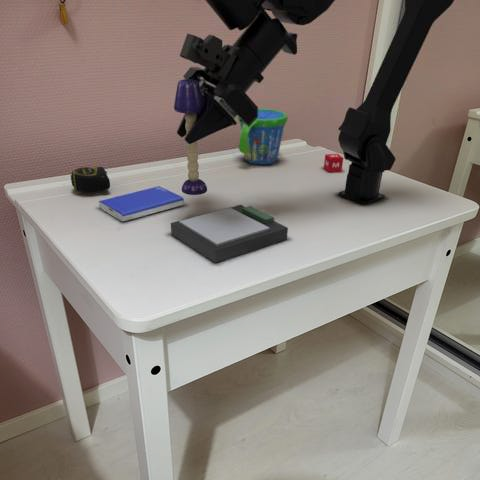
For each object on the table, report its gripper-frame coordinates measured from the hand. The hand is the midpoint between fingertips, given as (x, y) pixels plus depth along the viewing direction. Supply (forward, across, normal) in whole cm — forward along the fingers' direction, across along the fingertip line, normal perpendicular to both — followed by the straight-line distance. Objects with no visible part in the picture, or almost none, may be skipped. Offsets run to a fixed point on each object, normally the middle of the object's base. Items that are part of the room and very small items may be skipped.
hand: (182, 138), depth 76 cm
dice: (-17, -17, +37) cm, 44 cm away
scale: (+6, +9, +12) cm, 17 cm away
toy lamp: (+5, 0, +7) cm, 9 cm away
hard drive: (+14, -8, +5) cm, 17 cm away
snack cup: (-8, -28, +28) cm, 40 cm away
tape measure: (+18, -20, +1) cm, 27 cm away
